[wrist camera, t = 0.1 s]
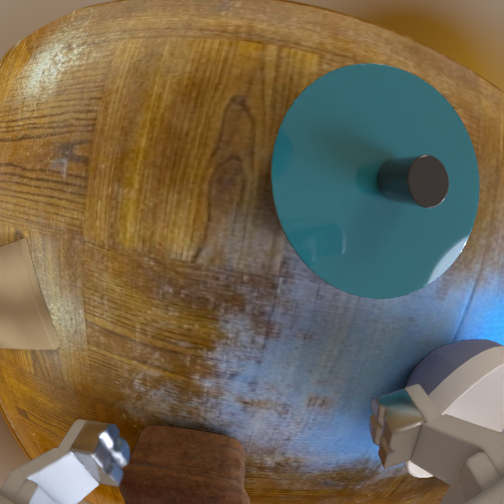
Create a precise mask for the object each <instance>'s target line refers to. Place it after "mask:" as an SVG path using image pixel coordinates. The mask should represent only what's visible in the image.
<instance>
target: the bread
mask: <svg viewBox="0 0 504 504" xmlns="http://www.w3.org/2000/svg"><path fill="white" fill-rule="evenodd" d="M123 471H124V475H123V478H122V480H121V483H120V486H119V488H120V492H121V494H122V496H123V498H124V500H125V503H126V504H250V500H249V496H248V495H247V493H246V491H245V490H244V476H245V453H244V450H243V448H242V445H241V443H240V442H239V441H237V440H236V439H233V438H230V437H228V436H225V435H220V434H215V433H211V432H206V431H199V430H194V429H186V428H179V427H170V426H157V425H155V426H145V428H144V430H143V431H142V433H141V434H140V436H139V439H138V441H137V443H136V446H135V448H134V450H133V453H132V455H131V458H130V462H129V464H128V465H127V466H126V467H125V468H123Z"/></svg>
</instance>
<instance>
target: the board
mask: <svg viewBox="0 0 504 504" xmlns="http://www.w3.org/2000/svg"><path fill="white" fill-rule="evenodd" d="M60 344H61V342H60V340H59V337H58V335H57V333H56V330H55V328H54V325H53V323H52V320H51V318H50V315H49V312H48V310H47V307H46V304H45V301H44V298H43V295H42V292H41V289H40V286H39V283H38V280H37V277H36V273H35V270H34V266H33V263H32V259H31V255H30V252H29V248H28V243H27V239H26V238H23V239H20V240H17V241H14V242H12V243H9V244H6V245H3V246H0V348H6V349H35V350H55V349H56V348H57V347H58V346H59V345H60Z"/></svg>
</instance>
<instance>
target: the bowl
mask: <svg viewBox="0 0 504 504" xmlns="http://www.w3.org/2000/svg"><path fill="white" fill-rule="evenodd" d="M415 384H419V385H421V387H422V388H423V390H424V391H425V392H426V394H427V395H428V396H429V398H430V399H431V400H432V402H433V403H434V405H435V406H436V407H437V409H438V410H439V412H440V413H441V414H442V415H445V414H448V415H451V416H454V417H456V418H459V419H462V420H465V421H468V422H471V423H474V424H476V425H479V426H482V427H485V428H489V429H492V430H495V431H498V432H501V431H502V430H503V429H504V346H503V345H501V344H498V343H496V342H494V341H490V340H486V339H484V340H479V339H470V340H462V341H458V342H455V343H453V344H448V345H445V346H442V347H440V348H438V349H436V350H434V351H433V352H431V353H430V354H429V355H427V356H426V357H425V358H424V359H423V360H422V361H421V362H420V363H419V364H418V365H417V366H416V368H415V369H414V370H413V372H412V373H411V375H410V377H409V379H408V381H407V383H406V387H409V386H412V385H415ZM406 387H405V388H406ZM405 464H406V467H407V470H408V472H409V473H410V474H412V475H413V476H415V477H419V478H428V477H433V475H431V474H430V473H428V472H426V471H425V470H423V469H422V468H420V467H418V466H417V465H415V464H414V463H412V462H410V460H409V461H406V462H405Z"/></svg>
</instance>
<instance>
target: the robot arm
mask: <svg viewBox="0 0 504 504" xmlns="http://www.w3.org/2000/svg"><path fill="white" fill-rule="evenodd" d="M371 409H372V411H373V414H372V415H371V416H370V422H369V425H370V433H371V436H372V439H373V442H374V443H375V444H376V445H378V446H379V452H378V454H379V457H380V459H381V461H382V464H383V466H384V469H385V468H388V467H391V466H394V465H397V464H400V463H403V462H406V461H409V460H410V462H412V463H414V464H415V465H417V466H418V467H420V468H422V469H423V470H425V471H426V472H428V473H430V474H431V475H433V476H435V477H436V478H438V479H440V480H442V481H443V482H445V483H447V484H449V485H450V488H449V489H448V491H447V492H446V494H445V495H444V497H443V498H442V500H441V504H504V433H501V432H498V431H495V430H492V429H489V428H485V427H482V426H479V425H476V424H474V423H471V422H468V421H465V420H462V419H459V418H456V417H454V416H451V415H448V414H445V415H442V414H441V413H440V412H439V410H438V409H437V407H436V406H435V405H434V403H433V402H432V400H431V399H430V398H429V396H428V395H427V394H426V392H425V391H424V390H423V388H422V387H421V385H419V384H415V385H412V386H409V387H406V388H404V389H400V390H397V391H395V392H391V393H388V394H385V395H382V396H379V397H376V398H373V399H372V401H371ZM119 433H120V431H119V429H118V428H117V426H116V425H114V424H110V423H102V422H95V421H87V420H81V419H78V420H76V421H75V422H74V423H73V425H72V426H71V428H70V430H69V431H68V433H67V434H66V436H65V437H64V439H63V440H62V442H61V444H60V445H59V447H58V448H56V447H54V448H53V449H51V450H49V451H47V452H46V453H44V454H42V455H40V456H38V457H37V458H35V459H33V460H31V461H29V462H27V463H25V464H24V465H22V466H20V467H18V468H16V469H14V470H12V471H11V473H10V474H9V476H8V477H7V479H6V481H5V482H4V484H3V485H2V487H1V488H0V504H77V503H78V502H79V501H80V500H82V499H83V498H84V497H85V496H86V495H88V494H89V493H90V492H91V491H92V490H93V489H95V488H96V487H97V486H98V485H99V483H101V484H106V485H111V486H117V487H119V486H120V483H121V480H122V478H123V475H124V471H123V467H124V466H126V465H127V464H128V462H129V459H130V448H129V445H128V443H127V442H126V440H125V439H123V438H122V437H121V436H119Z"/></svg>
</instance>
